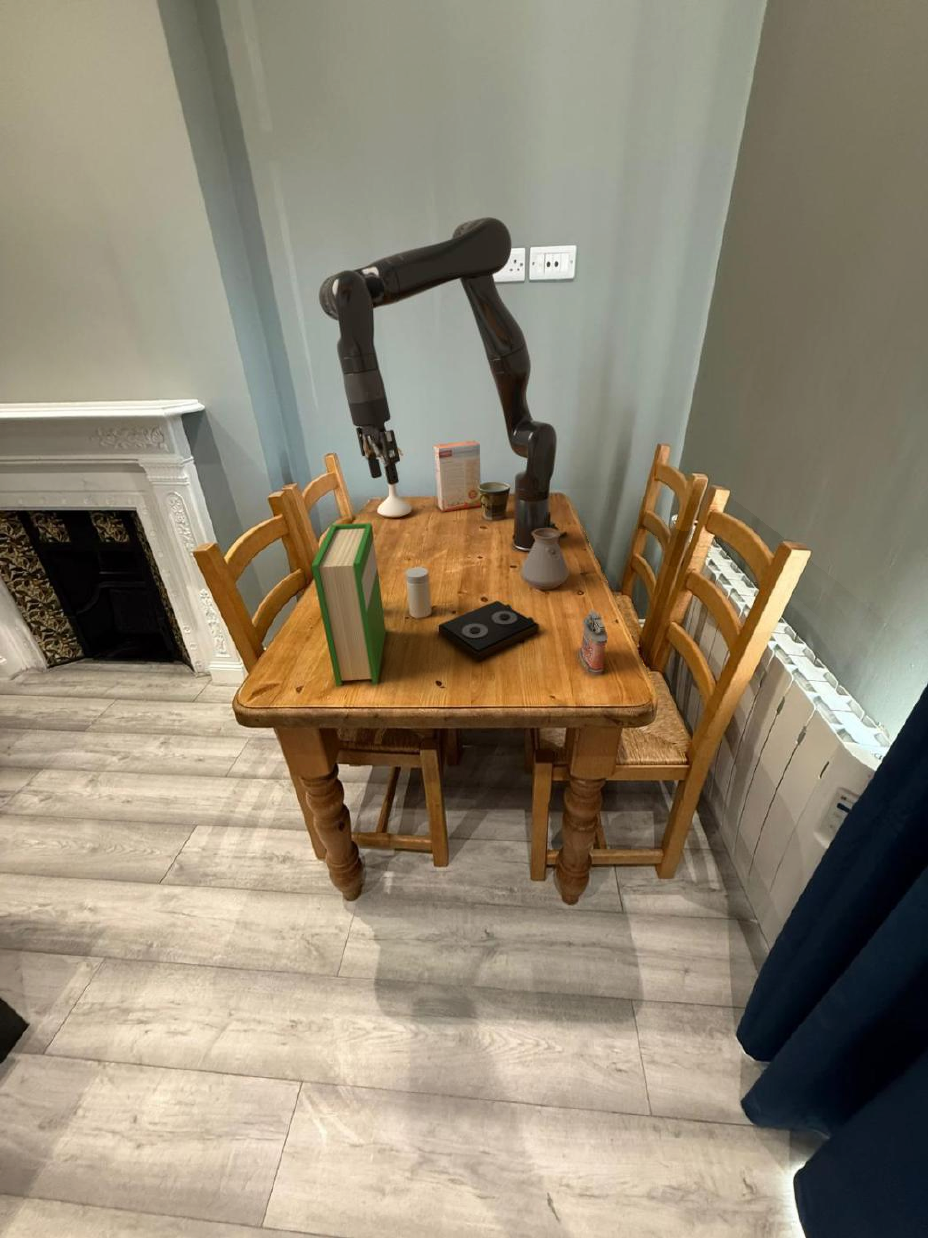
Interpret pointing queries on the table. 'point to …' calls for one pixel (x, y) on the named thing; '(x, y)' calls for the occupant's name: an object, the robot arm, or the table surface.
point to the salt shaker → (418, 592)
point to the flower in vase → (394, 502)
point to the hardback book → (351, 601)
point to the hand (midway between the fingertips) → (385, 480)
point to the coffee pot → (545, 561)
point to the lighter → (593, 643)
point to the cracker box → (458, 475)
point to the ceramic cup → (494, 499)
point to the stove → (488, 630)
